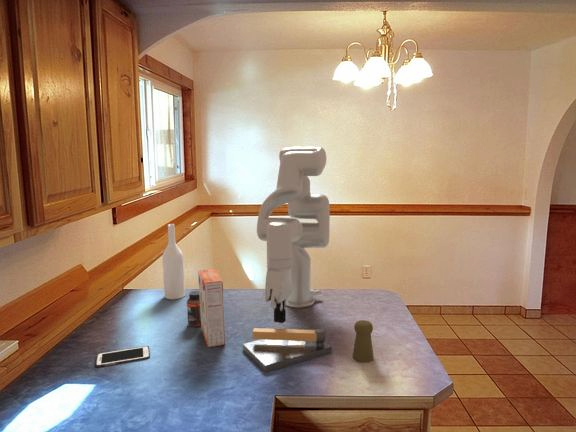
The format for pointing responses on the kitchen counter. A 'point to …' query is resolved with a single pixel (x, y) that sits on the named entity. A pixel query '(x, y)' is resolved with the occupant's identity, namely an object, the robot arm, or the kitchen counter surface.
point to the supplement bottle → (194, 309)
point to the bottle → (173, 268)
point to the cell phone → (122, 356)
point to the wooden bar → (289, 334)
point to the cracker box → (211, 307)
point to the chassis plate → (284, 352)
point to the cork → (363, 342)
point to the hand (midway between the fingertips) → (279, 321)
